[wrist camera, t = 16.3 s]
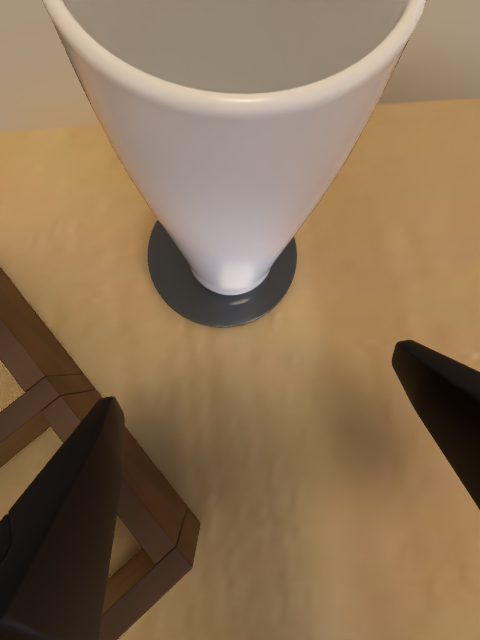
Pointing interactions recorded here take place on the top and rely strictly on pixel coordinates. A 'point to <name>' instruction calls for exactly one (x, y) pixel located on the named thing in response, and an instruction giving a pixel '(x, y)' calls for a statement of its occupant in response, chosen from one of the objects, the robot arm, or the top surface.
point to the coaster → (205, 304)
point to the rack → (138, 470)
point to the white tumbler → (233, 110)
